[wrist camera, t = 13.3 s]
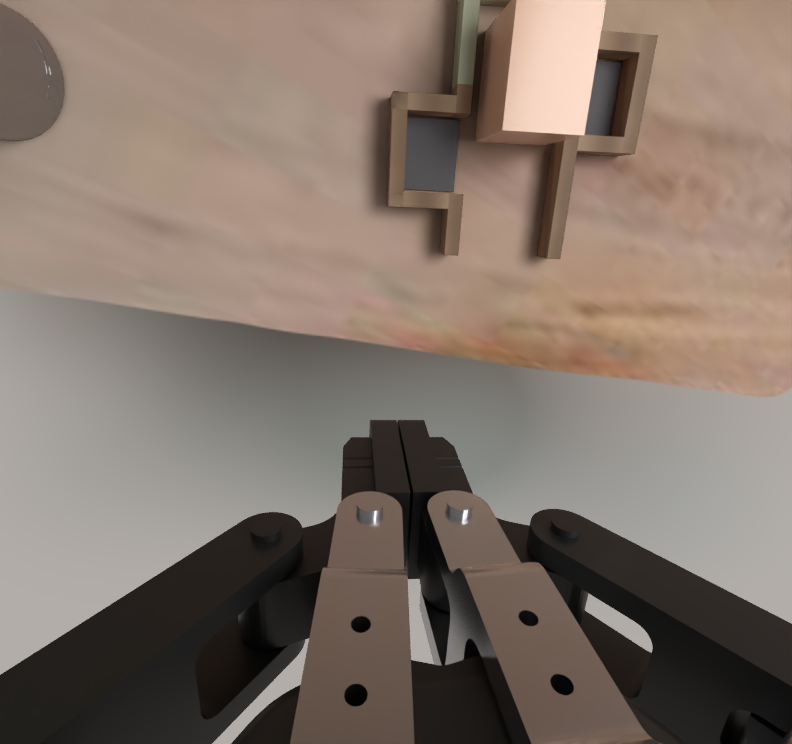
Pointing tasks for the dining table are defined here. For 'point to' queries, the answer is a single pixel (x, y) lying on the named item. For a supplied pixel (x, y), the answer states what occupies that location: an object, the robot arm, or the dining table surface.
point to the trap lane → (563, 156)
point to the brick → (539, 71)
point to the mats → (437, 138)
